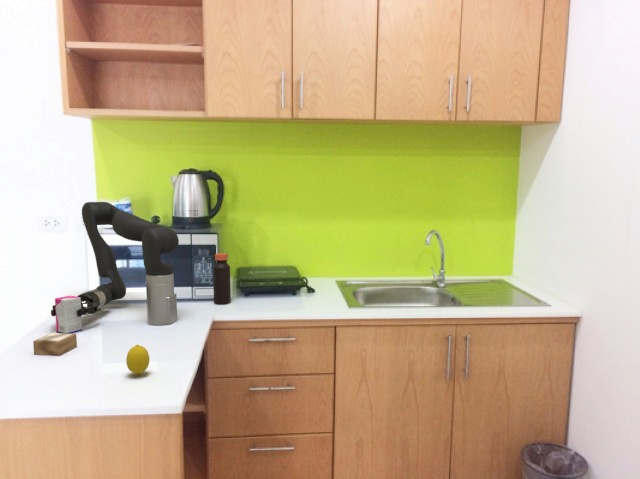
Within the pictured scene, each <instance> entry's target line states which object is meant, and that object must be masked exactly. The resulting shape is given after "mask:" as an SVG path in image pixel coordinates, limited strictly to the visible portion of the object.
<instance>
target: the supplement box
mask: <svg viewBox="0 0 640 479" xmlns="http://www.w3.org/2000/svg"><path fill="white" fill-rule="evenodd" d="M54 303H55V304H54V305H55V309H56V316H55V327H56V328H55V330H56V332H55V333H67V334H76V333H79V332H82V331H83V322H82V321H83V320H82V316H80V317H77V310H79V309H81V297H77V296H75V295H67V296H62V297H61V296H60V297H55V298H54Z"/></svg>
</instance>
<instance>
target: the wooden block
mask: <svg viewBox="0 0 640 479" xmlns="http://www.w3.org/2000/svg"><path fill="white" fill-rule="evenodd" d="M77 342H78V338H77V333H72V334H67V333H57V332H51V333H48V334H46V335H44V336H42V337H40V338H37V339H35V340H33V342H32V344H33V354H34V355H35V356H51V357H52V356H53V357H61V356H63V355H64V354H66V353H68V352H70V351H73V349H76V348H78V343H77Z"/></svg>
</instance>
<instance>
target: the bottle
mask: <svg viewBox="0 0 640 479" xmlns="http://www.w3.org/2000/svg"><path fill="white" fill-rule="evenodd" d="M228 257H229V256H228V253H225V252H223V253H216V254H214V260H215V264H214V265H213V266H212V276H213V277H212V281H213V282H212V283H213V285H212V286H213V303H214V305H228V304H230V303H231V301H232V299H231V296H232V293H231V266H230V265H229V264H228Z"/></svg>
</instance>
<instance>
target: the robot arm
mask: <svg viewBox="0 0 640 479" xmlns="http://www.w3.org/2000/svg"><path fill="white" fill-rule="evenodd" d="M81 218H82V221H83V224H84V227H85V230H86V233H87V237H88V239H89V241H90V244H91V247H92V250H93V253H94V257H95V262H96V268H97V273H98V277H100V278H102V279H103V278H104V279H105V278H109V279H110V280H111V282H108V283H104V284H101V285H98V286H96V288H95V289H91V290H87V291H85V292H83V293H81V294H78V295H77V296H76V297H81V309H79V310H77V317H80V316H81V317H83V316H87V315H88V316H89V315H90V314H91V315H95V314H96V313H98V312H99V311H100V310H101V309H102V308H103V307H104V306H106V305H107V304H109V303H110V302H112V301H117V300H120V299H121V300H122V299H124V297H125V296H126V295H127V288H126V285H125V283H124V281H123V279H122V277H121V275H120V273H119V270H118V265H117V261H116V256H115V253H114V251H113V250H112V248H111V246H110V245H109V244H108V242H106V240H104V238H103V236H102V235H101V233H100V231H99V228H98V226H109V225H110V226H112V227H111V228H112V230H113V232H114V233H115V234H116V235H118V237H122V238H124V239H126V240H128V241H133V242H140V243H141V248H142V258H143V266H144V270H145V285H146V286H145V289H146V292H145V293H146V312H147V318H146V319H147V324H149V325H151V326H165V325H171V324H173V323H175V322H176V321H178V303H177V302H178V301H177V298H178V297H177V293H175V283H174V282H175V280H174V277H175V276H174V266H173V264H171V263H167V262H164V261H163V260H162V259H161V255H166V254H170V253H173V252H175V250H177V248H178V246H179V245H180V244H179V242H180V241H179V236H178V234H177V232H176V231H175V230H174V229H172V228H171V227H169V226H164V225H160V224H156V223H153V222H151V221H148V220H146V219H145V218H141V217H139V216H137V215H135V214H133V213H130V212H127V211H124V210H122V209H120V208H119V207H117V206H116V205H114V204H112V203H110V202H107V201H87V202H85V203H83V205H82V208H81ZM50 316H52V317H56V309H55V304H54V305H52V309H51V310H50Z"/></svg>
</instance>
